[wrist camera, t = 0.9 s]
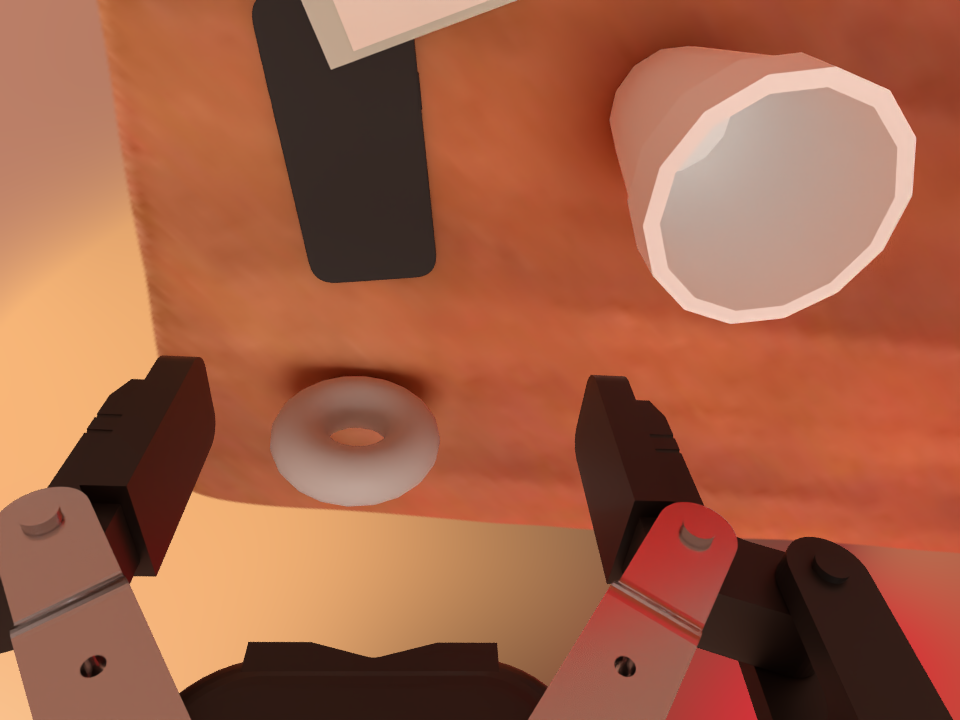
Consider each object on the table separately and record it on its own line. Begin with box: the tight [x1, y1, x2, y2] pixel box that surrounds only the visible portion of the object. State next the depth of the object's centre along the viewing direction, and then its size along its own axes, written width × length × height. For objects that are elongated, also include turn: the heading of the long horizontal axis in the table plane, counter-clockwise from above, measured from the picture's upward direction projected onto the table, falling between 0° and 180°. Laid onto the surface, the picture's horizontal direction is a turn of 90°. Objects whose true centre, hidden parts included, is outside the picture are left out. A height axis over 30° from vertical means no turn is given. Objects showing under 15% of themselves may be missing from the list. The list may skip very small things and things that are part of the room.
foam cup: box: [609, 46, 916, 324], centre depth 28 cm, size 10×9×13 cm
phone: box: [252, 0, 436, 283], centre depth 34 cm, size 7×1×15 cm
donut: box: [270, 376, 440, 506], centre depth 38 cm, size 10×4×10 cm, turn 82°
